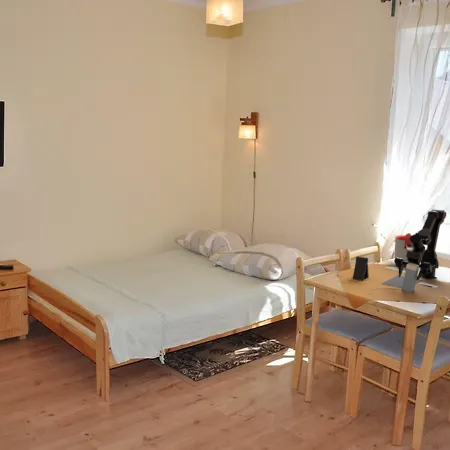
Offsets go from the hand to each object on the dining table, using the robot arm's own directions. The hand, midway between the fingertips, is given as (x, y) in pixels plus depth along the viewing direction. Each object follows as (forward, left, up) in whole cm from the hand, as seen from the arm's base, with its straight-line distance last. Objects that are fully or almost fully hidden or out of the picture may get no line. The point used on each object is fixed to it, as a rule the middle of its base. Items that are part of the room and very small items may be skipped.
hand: (407, 278), depth 282 cm
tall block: (-1, -1, -7) cm, 7 cm away
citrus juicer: (-34, -45, -7) cm, 57 cm away
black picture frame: (+9, -28, -7) cm, 31 cm away
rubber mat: (-8, -14, -7) cm, 17 cm away
